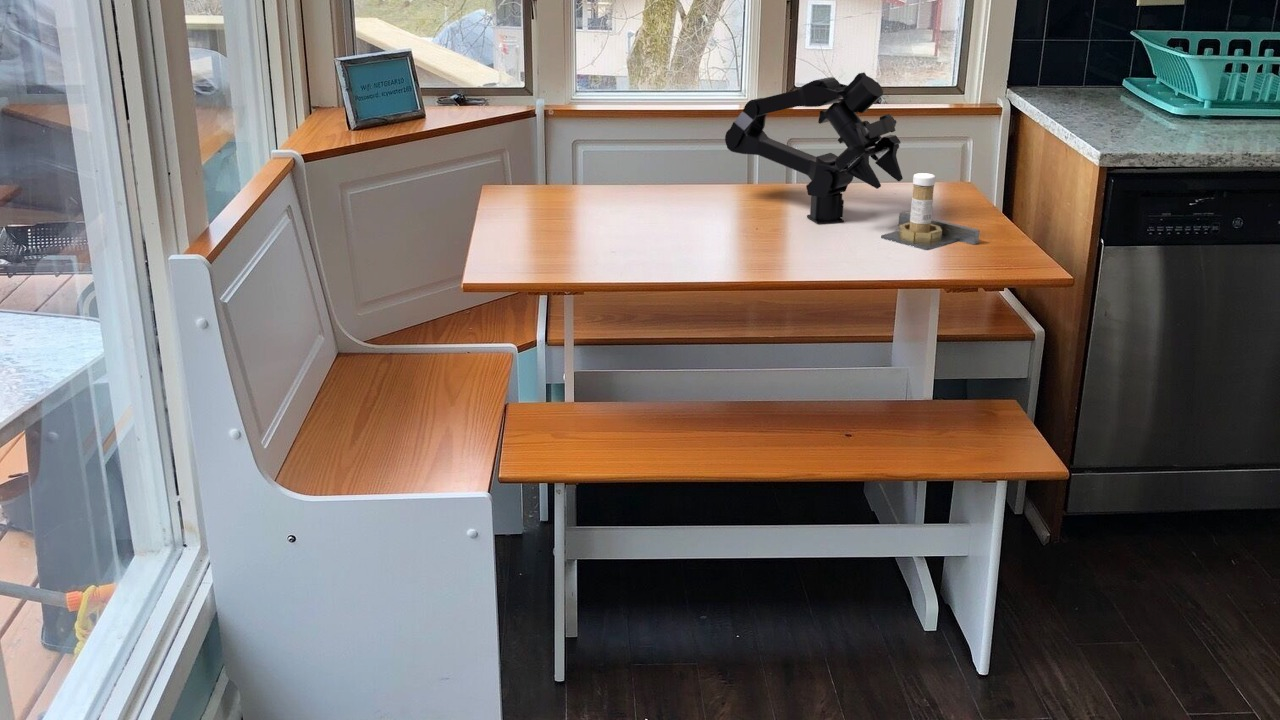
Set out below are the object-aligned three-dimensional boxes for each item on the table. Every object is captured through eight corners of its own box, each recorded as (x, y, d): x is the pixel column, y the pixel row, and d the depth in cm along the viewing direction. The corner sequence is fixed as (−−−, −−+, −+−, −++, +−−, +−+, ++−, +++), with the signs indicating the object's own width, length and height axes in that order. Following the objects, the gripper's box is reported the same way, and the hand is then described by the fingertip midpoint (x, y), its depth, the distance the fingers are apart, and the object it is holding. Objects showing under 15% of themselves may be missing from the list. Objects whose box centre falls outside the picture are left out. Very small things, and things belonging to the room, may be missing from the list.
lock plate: (866, 234, 263) (867, 220, 262) (902, 224, 271) (903, 211, 270) (942, 254, 249) (943, 240, 248) (978, 243, 257) (979, 229, 256)
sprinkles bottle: (923, 233, 262) (929, 171, 257) (933, 238, 258) (939, 176, 253) (904, 234, 261) (909, 172, 256) (913, 239, 257) (919, 177, 252)
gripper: (850, 108, 251) (893, 168, 249) (895, 97, 264) (937, 154, 262) (816, 141, 259) (858, 200, 256) (862, 129, 272) (902, 184, 269)
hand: (890, 183), depth 261 cm, fingers open, 9 cm apart
